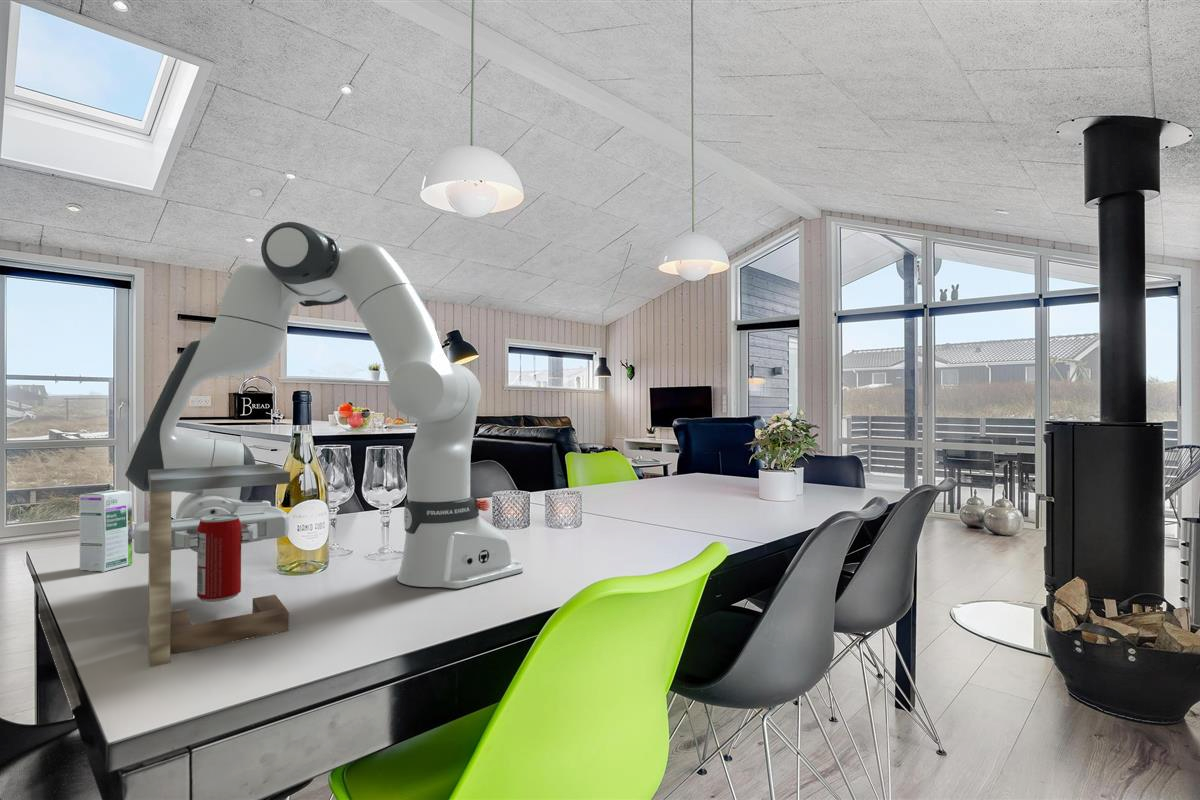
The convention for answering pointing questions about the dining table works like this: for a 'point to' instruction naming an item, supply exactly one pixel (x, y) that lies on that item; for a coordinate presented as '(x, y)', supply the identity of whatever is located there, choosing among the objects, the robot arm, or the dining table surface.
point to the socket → (228, 626)
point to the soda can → (219, 557)
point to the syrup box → (105, 530)
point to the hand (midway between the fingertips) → (220, 539)
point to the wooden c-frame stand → (160, 533)
